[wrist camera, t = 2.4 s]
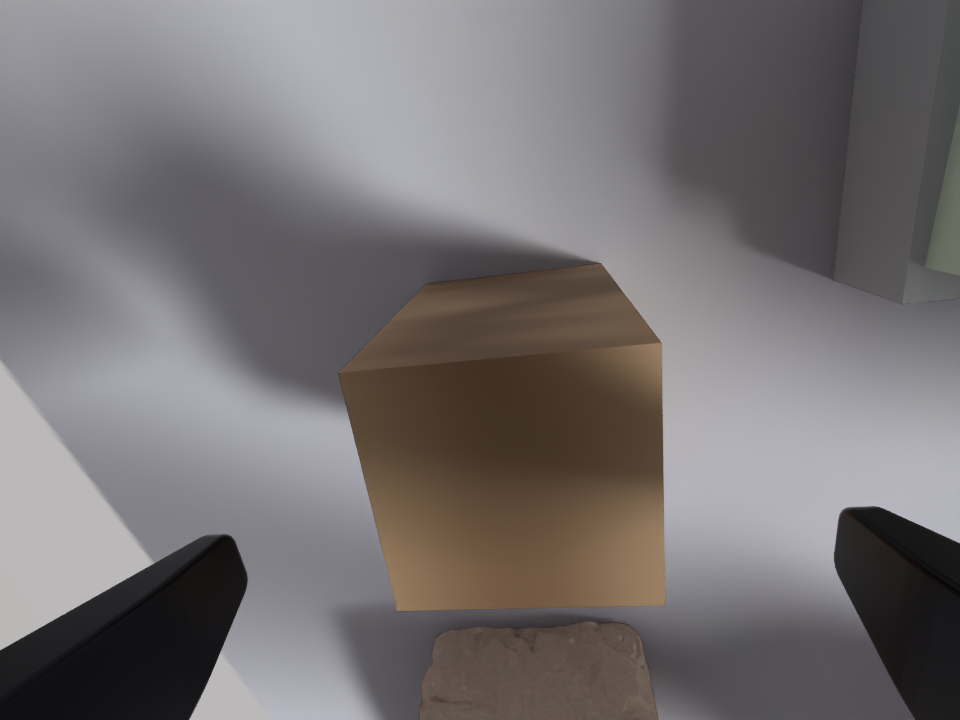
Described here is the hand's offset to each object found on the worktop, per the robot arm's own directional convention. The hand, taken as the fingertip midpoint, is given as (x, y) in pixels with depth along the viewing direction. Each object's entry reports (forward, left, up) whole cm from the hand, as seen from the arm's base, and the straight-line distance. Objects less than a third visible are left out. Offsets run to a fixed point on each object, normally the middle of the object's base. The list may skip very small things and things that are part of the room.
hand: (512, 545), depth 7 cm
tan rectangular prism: (0, 0, -8) cm, 8 cm away
